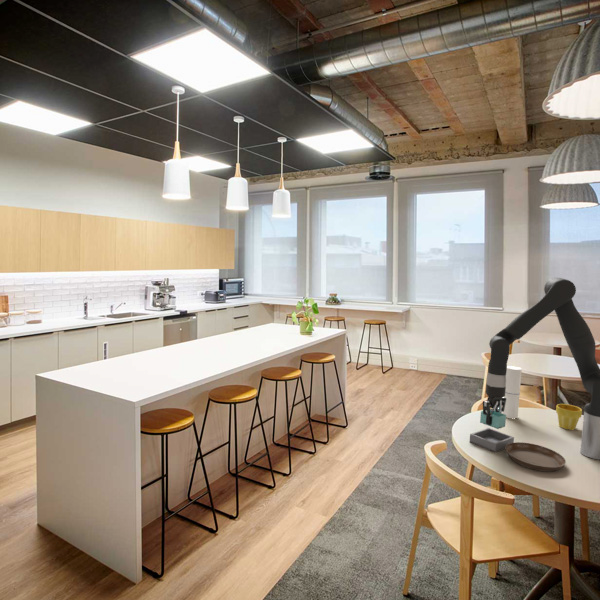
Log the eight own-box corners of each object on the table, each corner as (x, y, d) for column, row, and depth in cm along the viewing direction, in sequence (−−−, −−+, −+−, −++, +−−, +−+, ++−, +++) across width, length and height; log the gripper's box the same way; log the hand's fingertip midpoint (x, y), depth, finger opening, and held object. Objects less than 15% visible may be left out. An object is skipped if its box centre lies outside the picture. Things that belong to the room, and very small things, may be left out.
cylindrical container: (506, 419, 211) (510, 369, 208) (499, 413, 218) (503, 365, 216) (520, 419, 211) (524, 369, 209) (512, 414, 218) (516, 366, 216)
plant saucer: (572, 463, 166) (572, 455, 165) (555, 480, 152) (555, 471, 151) (516, 445, 181) (516, 437, 180) (496, 459, 167) (496, 451, 166)
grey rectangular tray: (487, 435, 190) (488, 427, 189) (513, 445, 180) (514, 437, 180) (469, 441, 182) (470, 434, 182) (495, 452, 172) (495, 444, 172)
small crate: (487, 420, 185) (488, 409, 185) (505, 426, 178) (506, 414, 178) (480, 422, 182) (481, 411, 181) (497, 429, 175) (498, 417, 175)
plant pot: (583, 433, 196) (585, 412, 195) (558, 429, 199) (560, 409, 198) (575, 424, 206) (577, 405, 205) (551, 422, 209) (553, 402, 208)
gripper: (497, 379, 186) (494, 417, 187) (477, 383, 177) (474, 423, 179) (514, 384, 179) (510, 423, 181) (494, 388, 171) (491, 429, 173)
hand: (492, 422), depth 180 cm, fingers closed on small crate, 5 cm apart
